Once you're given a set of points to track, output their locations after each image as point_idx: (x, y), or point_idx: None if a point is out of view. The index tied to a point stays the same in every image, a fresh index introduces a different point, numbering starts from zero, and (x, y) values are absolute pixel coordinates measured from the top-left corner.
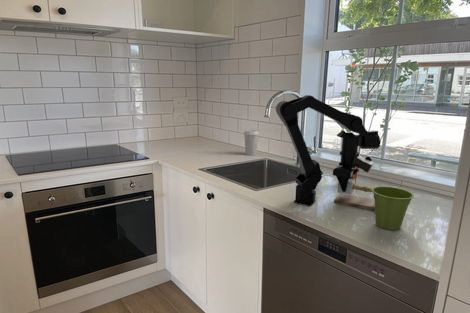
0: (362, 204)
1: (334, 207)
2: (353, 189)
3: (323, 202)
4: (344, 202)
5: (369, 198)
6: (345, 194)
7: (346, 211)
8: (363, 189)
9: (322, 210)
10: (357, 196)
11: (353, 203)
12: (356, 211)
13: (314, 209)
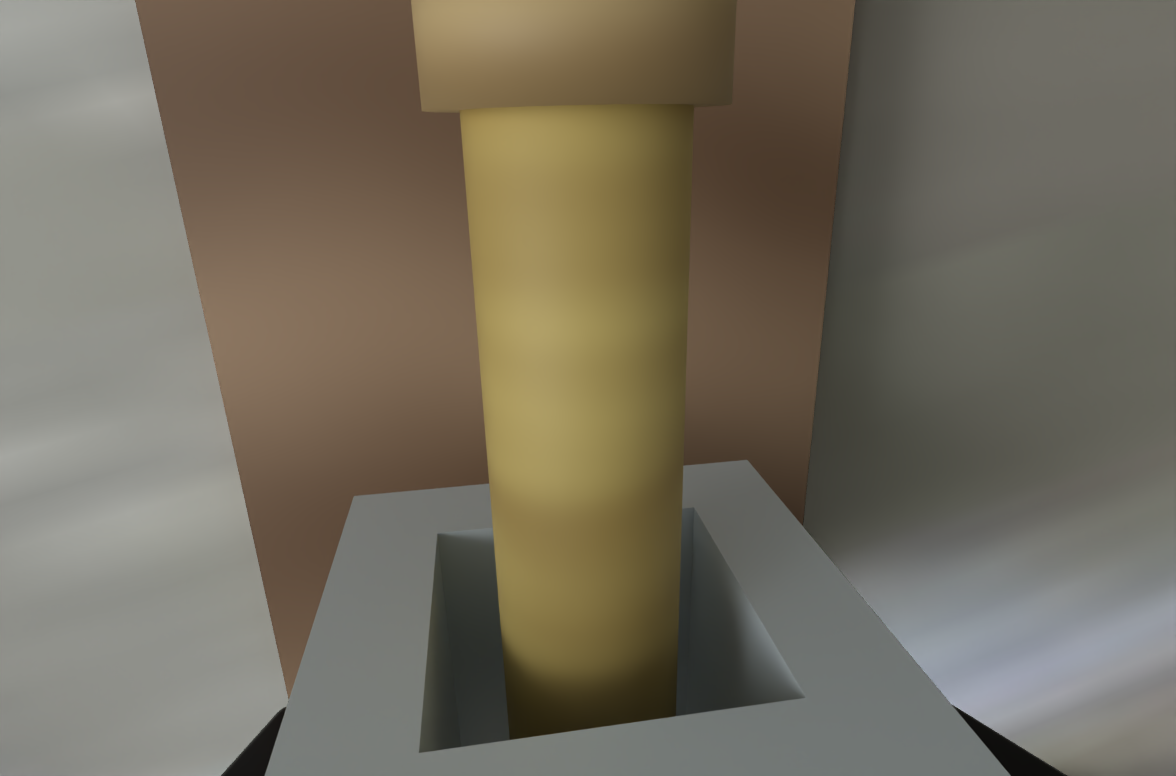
0: (793, 82)
1: (979, 526)
2: (437, 544)
3: None
4: (801, 467)
5: (142, 12)
6: (300, 624)
7: (1096, 304)
8: (689, 147)
9: (1166, 605)
10: (233, 362)
11: (825, 290)
12: (1033, 140)
13: (1159, 692)
